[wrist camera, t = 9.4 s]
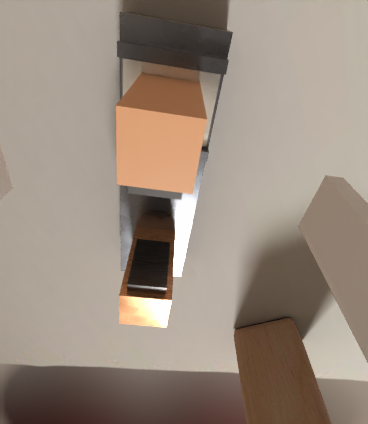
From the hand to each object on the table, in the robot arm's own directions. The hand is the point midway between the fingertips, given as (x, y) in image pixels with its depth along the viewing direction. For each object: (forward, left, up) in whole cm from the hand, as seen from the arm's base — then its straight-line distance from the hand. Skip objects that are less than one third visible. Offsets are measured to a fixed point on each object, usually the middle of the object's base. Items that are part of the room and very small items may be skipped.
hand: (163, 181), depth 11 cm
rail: (0, +7, -13) cm, 15 cm away
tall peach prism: (0, 0, -10) cm, 10 cm away
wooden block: (-21, +36, -14) cm, 43 cm away
